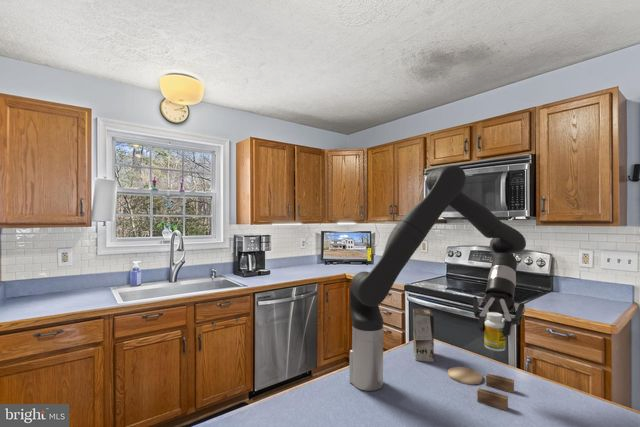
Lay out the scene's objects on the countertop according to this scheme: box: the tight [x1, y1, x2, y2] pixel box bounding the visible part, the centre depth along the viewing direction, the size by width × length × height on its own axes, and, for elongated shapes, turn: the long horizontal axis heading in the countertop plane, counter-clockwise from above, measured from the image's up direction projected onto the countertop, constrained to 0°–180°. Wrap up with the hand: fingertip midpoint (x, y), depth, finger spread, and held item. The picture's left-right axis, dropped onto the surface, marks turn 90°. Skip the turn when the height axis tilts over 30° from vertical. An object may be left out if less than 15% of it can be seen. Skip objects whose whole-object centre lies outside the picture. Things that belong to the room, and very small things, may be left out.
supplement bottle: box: [483, 312, 507, 352], centre depth 94 cm, size 5×5×10 cm
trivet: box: [447, 366, 483, 385], centre depth 104 cm, size 10×10×1 cm
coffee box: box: [412, 308, 435, 363], centre depth 120 cm, size 9×6×16 cm
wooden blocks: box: [476, 372, 515, 412], centre depth 93 cm, size 7×13×3 cm, turn 142°
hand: (493, 332), depth 92 cm, fingers closed on supplement bottle, 5 cm apart
